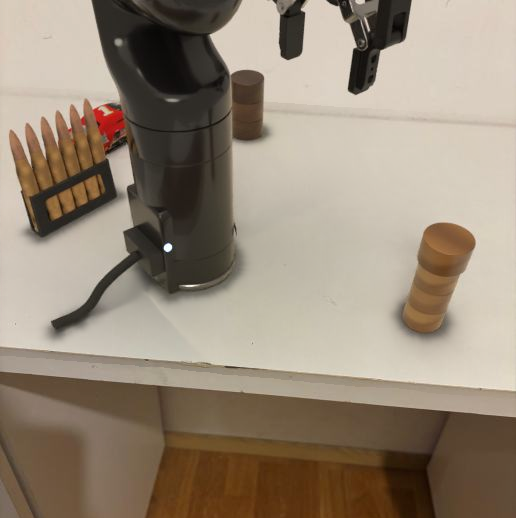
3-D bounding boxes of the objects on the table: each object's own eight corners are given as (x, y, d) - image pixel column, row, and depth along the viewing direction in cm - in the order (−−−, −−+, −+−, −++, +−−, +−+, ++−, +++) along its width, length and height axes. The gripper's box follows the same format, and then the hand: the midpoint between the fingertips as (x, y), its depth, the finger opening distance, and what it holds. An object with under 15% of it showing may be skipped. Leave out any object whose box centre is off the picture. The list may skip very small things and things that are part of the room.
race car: (78, 171, 72) (71, 141, 69) (51, 155, 74) (43, 126, 71) (155, 130, 79) (151, 101, 76) (128, 117, 81) (123, 88, 78)
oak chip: (444, 284, 49) (452, 262, 47) (406, 257, 51) (412, 234, 49) (477, 263, 50) (486, 241, 49) (439, 238, 53) (446, 215, 51)
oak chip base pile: (423, 339, 55) (444, 281, 49) (394, 315, 57) (411, 257, 51) (449, 321, 56) (472, 263, 50) (420, 299, 58) (439, 241, 52)
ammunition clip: (108, 190, 69) (87, 92, 60) (117, 196, 69) (98, 98, 59) (31, 230, 64) (-4, 130, 55) (41, 237, 63) (7, 137, 54)
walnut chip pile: (243, 143, 77) (243, 88, 71) (224, 130, 79) (223, 75, 73) (269, 133, 79) (271, 79, 73) (249, 120, 81) (250, 66, 75)
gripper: (240, -176, 41) (240, 57, 53) (393, -142, 34) (353, 118, 46) (315, -185, 44) (299, 37, 57) (468, -155, 37) (412, 90, 50)
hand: (323, 73), depth 51 cm, fingers open, 8 cm apart
